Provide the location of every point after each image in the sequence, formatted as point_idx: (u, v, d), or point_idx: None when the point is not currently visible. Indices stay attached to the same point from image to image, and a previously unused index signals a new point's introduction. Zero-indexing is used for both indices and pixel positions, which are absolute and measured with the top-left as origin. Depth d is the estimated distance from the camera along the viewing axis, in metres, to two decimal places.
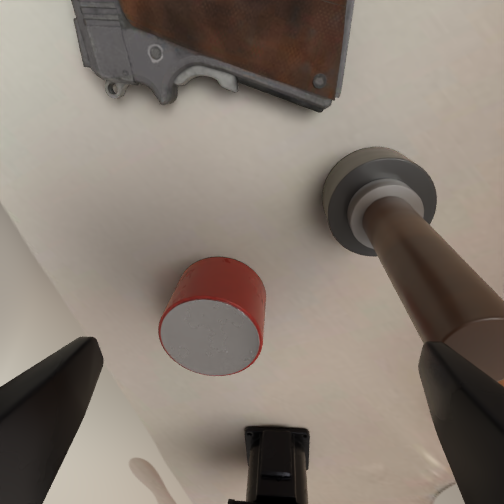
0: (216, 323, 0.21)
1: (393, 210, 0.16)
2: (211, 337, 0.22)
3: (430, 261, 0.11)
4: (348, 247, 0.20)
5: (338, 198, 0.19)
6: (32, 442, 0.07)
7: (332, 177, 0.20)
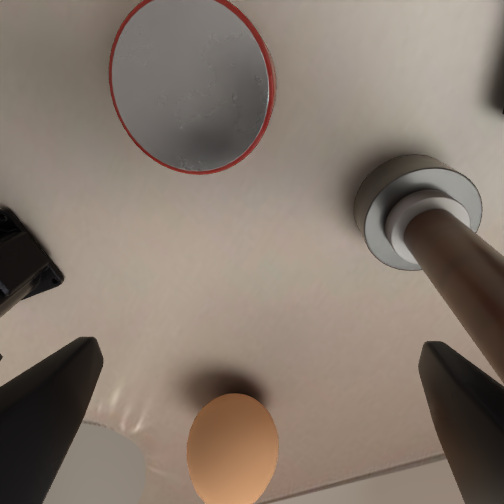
0: (227, 92, 0.14)
1: (475, 234, 0.15)
2: (196, 93, 0.14)
3: None
4: (370, 211, 0.18)
5: (429, 176, 0.17)
6: (32, 442, 0.07)
7: (429, 159, 0.18)
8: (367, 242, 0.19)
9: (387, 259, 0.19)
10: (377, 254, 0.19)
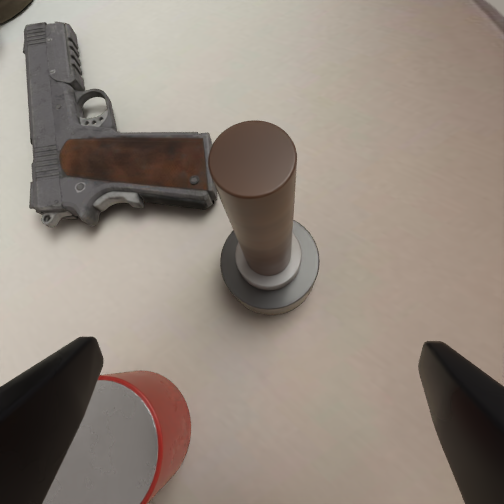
0: (101, 418, 0.16)
1: None
2: (93, 446, 0.16)
3: None
4: (250, 302, 0.19)
5: (227, 256, 0.20)
6: (32, 442, 0.07)
7: None
8: (281, 306, 0.19)
9: (303, 288, 0.19)
10: (296, 297, 0.19)
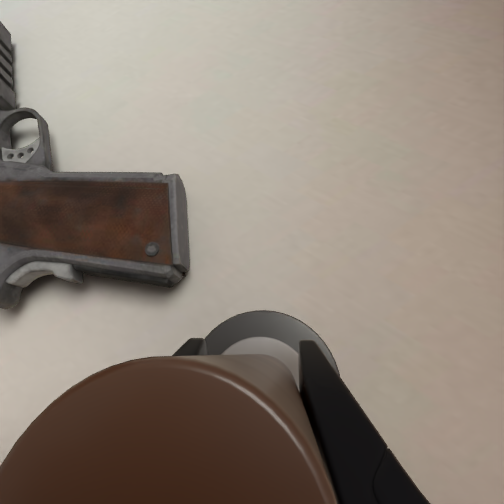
0: None
1: None
2: None
3: None
4: None
5: None
6: None
7: None
8: None
9: None
10: None
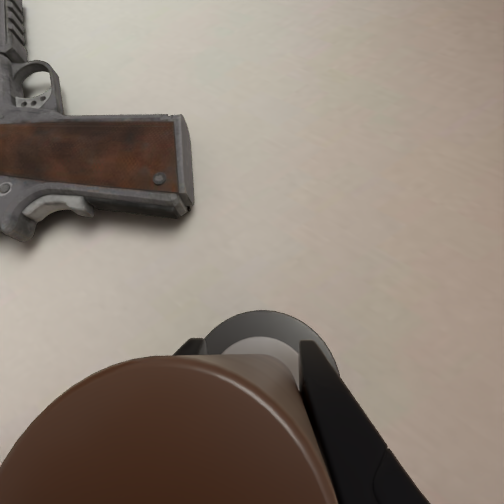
0: None
1: None
2: None
3: None
4: None
5: None
6: None
7: None
8: None
9: None
10: None
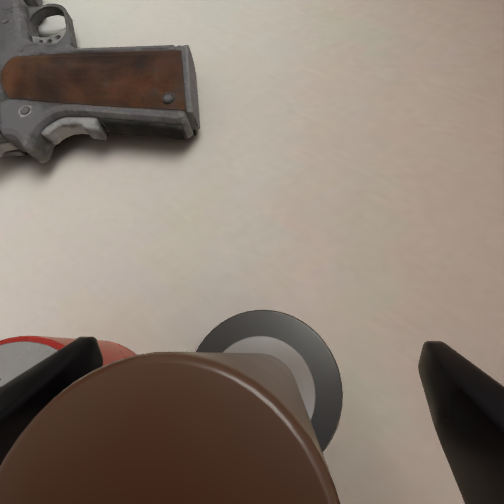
0: None
1: None
2: None
3: None
4: None
5: None
6: None
7: None
8: None
9: None
10: None
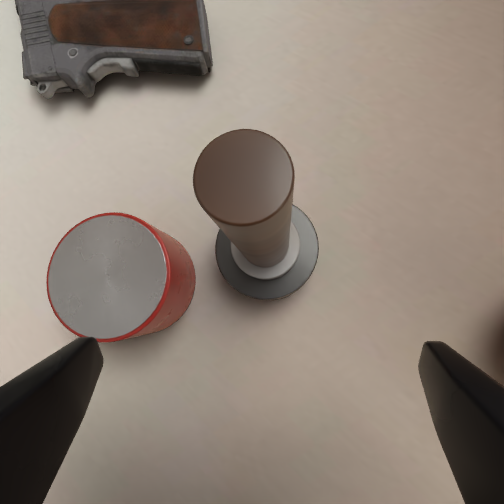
0: (113, 246, 0.18)
1: None
2: (108, 269, 0.18)
3: None
4: (247, 292, 0.19)
5: (222, 243, 0.19)
6: (32, 442, 0.07)
7: None
8: (279, 296, 0.19)
9: (301, 277, 0.19)
10: (294, 287, 0.19)
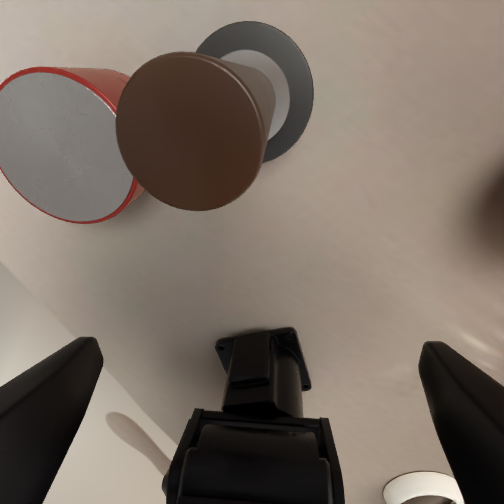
0: (56, 117, 0.14)
1: None
2: (62, 148, 0.15)
3: None
4: None
5: None
6: (32, 442, 0.07)
7: None
8: (266, 160, 0.17)
9: (291, 137, 0.16)
10: (283, 149, 0.16)
